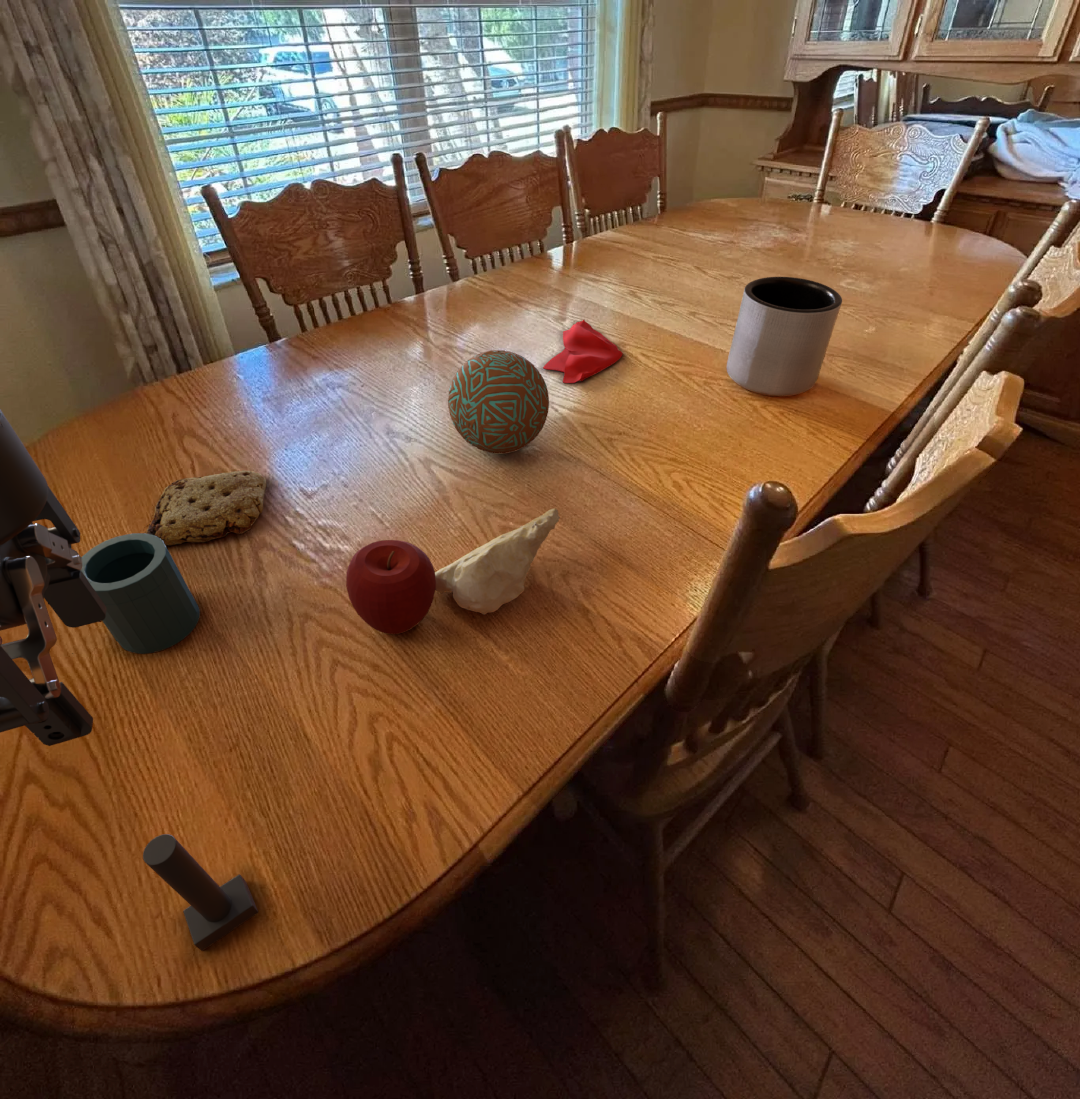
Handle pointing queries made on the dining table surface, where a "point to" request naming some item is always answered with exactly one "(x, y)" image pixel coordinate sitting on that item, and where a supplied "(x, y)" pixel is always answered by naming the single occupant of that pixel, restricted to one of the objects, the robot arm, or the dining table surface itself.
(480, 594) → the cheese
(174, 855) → the t-shaped mushroom stamp
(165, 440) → the dining table surface
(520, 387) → the decorative sphere
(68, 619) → the robot arm
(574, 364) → the cloth
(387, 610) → the apple
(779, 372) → the planter
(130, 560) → the crock
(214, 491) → the pastry
